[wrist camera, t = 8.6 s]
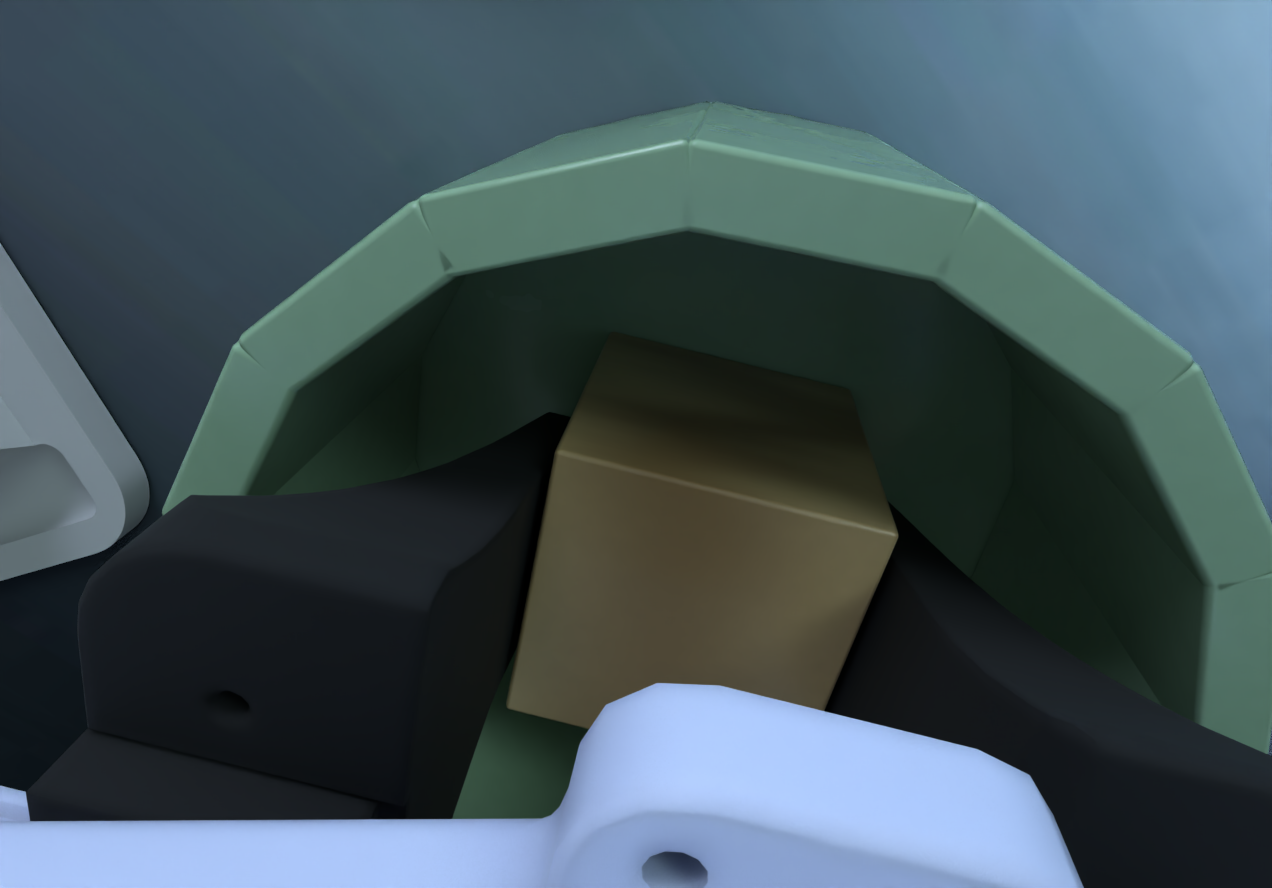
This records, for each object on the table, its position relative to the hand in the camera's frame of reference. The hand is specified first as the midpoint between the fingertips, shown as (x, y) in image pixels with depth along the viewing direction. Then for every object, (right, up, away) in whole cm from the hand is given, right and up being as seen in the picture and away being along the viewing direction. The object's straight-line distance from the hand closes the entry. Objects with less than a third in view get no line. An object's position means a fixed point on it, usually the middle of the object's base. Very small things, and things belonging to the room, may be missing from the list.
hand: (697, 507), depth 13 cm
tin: (0, +1, +2) cm, 2 cm away
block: (0, +1, +1) cm, 1 cm away
